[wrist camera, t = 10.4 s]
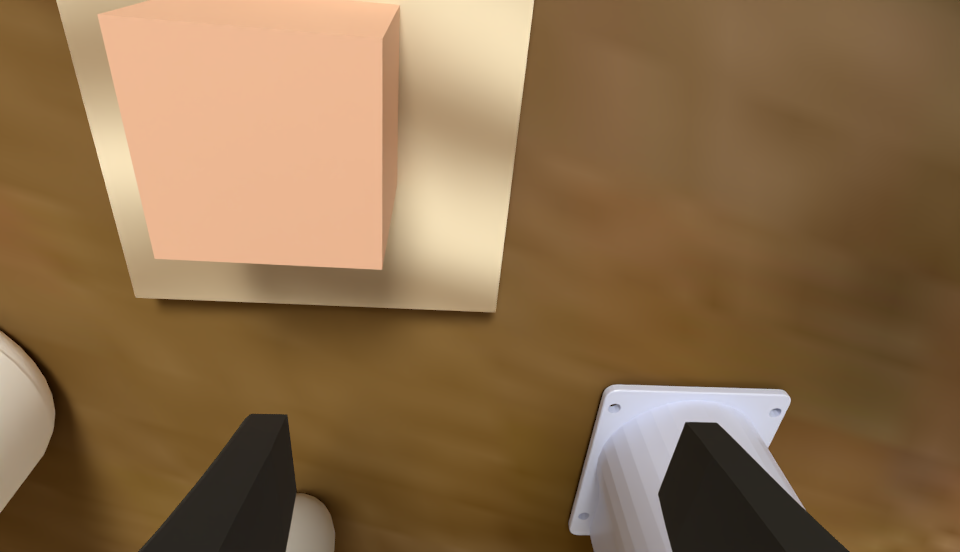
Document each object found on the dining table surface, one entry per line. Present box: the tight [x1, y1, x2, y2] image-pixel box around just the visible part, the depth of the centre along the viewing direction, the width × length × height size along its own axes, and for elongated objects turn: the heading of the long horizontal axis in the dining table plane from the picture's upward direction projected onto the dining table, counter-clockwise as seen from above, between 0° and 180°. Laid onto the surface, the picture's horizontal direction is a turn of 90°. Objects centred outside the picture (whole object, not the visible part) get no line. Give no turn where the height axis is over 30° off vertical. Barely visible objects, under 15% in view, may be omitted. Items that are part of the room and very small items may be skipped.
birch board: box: [56, 0, 534, 312], centre depth 17 cm, size 14×12×1 cm
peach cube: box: [97, 0, 400, 270], centre depth 14 cm, size 5×5×5 cm
